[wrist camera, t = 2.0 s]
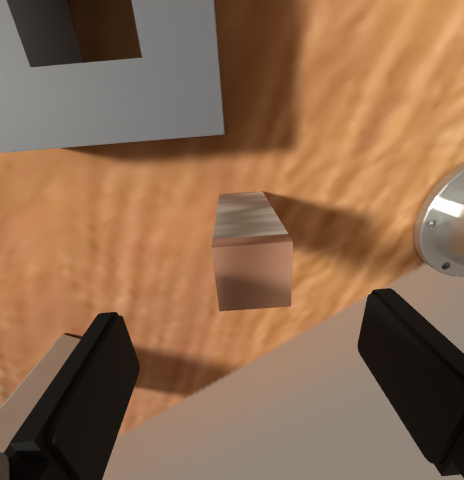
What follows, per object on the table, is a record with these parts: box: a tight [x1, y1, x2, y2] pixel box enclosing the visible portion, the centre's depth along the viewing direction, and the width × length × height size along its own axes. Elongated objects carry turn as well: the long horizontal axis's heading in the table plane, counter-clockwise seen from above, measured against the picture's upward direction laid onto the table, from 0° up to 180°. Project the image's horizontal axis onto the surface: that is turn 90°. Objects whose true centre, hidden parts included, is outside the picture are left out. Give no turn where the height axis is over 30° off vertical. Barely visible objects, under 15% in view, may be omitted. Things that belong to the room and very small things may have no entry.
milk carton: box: [0, 334, 81, 453], centre depth 21 cm, size 7×7×19 cm
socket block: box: [0, 0, 225, 153], centre depth 14 cm, size 14×14×6 cm
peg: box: [212, 191, 293, 311], centre depth 17 cm, size 4×4×11 cm
